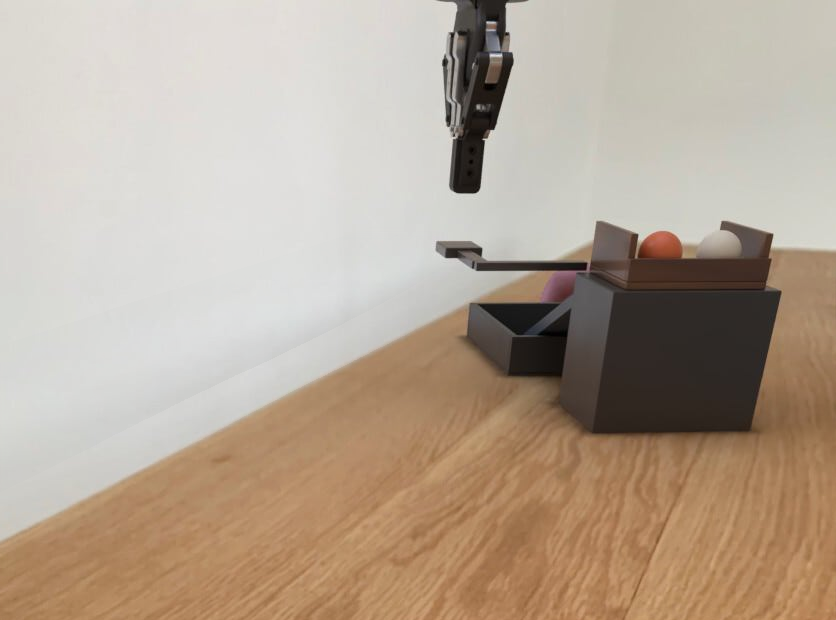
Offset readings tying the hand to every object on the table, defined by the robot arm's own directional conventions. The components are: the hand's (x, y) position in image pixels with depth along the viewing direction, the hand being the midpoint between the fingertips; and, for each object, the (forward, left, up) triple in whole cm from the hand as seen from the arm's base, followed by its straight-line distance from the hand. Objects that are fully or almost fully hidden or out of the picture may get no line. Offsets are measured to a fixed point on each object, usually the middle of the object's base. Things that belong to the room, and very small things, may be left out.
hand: (464, 192), depth 87 cm
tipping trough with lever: (-9, +6, -5) cm, 12 cm away
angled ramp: (-13, -2, -15) cm, 20 cm away
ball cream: (-16, +13, -3) cm, 21 cm away
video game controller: (-18, -27, -15) cm, 35 cm away
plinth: (-14, +11, -15) cm, 23 cm away
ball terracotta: (-12, +13, -3) cm, 18 cm away
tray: (-12, -10, -15) cm, 22 cm away
